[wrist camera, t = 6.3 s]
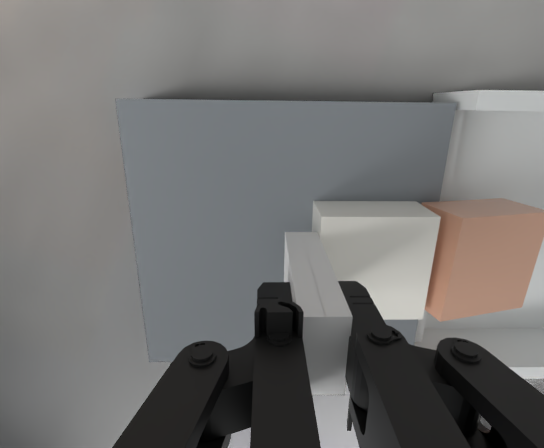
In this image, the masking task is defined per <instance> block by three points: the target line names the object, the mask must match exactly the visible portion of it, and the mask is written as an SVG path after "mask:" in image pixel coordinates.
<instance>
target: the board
mask: <svg viewBox="0 0 544 448" xmlns="http://www.w3.org/2000/svg"><path fill="white" fill-rule="evenodd" d="M115 100H116V108H117V116H118V124H119V131H120V139H121V147H122V154H123V162H124V170H125V177H126V185H127V193H128V201H129V208H130V216H131V224H132V231H133V239H134V247H135V255H136V262H137V270H138V278H139V285H140V293H141V301H142V309H143V316H144V324H145V332H146V339H147V347H148V355H149V362H173V360H174V359H175V358H176V356H177V355H178V353H179V352H180V351H181V350H182V349H183V348H184V347H186V346H188V345H190V344H192V343H195V342H199V341H214V342H218V343H221V344H222V345H223V346H224V347H225V348H226V349H227V351H230V350H234V349H237V348H240V347H242V346H244V345H246V344H248V343H249V342H250V341H251V340H252V339H253V337H254V336H255V325H254V312H255V310H256V307H257V289H258V288H259V287H260V286H261V284H262V283H263V282H284V253H285V232H312V217H313V201H416V202H418V203H420V204H421V205H422V202H439V201H440V195H441V189H442V184H443V178H444V172H445V167H446V161H447V155H448V150H449V144H450V138H451V133H452V127H453V121H454V116H455V110H456V104H457V103H431V102H351V101H270V100H189V99H115ZM384 322H385V323H386V325H388V326H391V327H393V328H395V329H396V330H398V331H400V333H401V334H402V335H403V336H404V337H405V339H406V340H407V342H408V344H411V345H414V342H415V336H416V331H417V325H418V319H415V320H384Z"/></svg>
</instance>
